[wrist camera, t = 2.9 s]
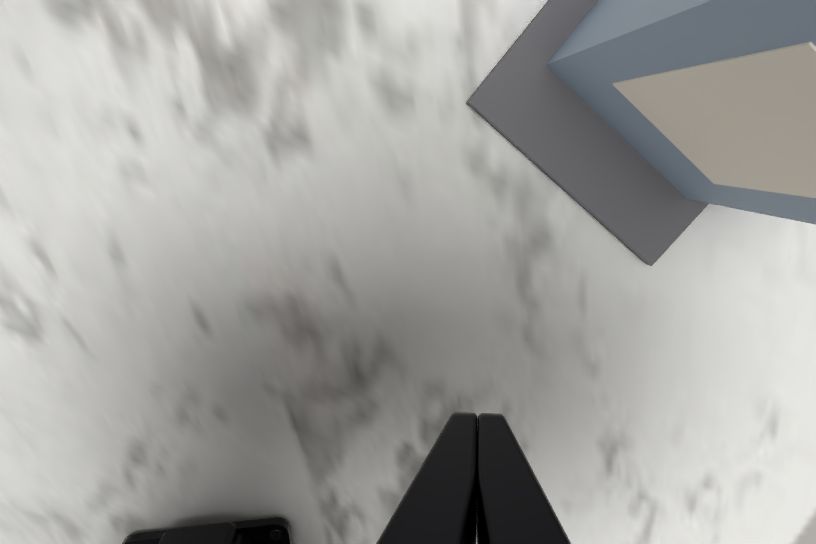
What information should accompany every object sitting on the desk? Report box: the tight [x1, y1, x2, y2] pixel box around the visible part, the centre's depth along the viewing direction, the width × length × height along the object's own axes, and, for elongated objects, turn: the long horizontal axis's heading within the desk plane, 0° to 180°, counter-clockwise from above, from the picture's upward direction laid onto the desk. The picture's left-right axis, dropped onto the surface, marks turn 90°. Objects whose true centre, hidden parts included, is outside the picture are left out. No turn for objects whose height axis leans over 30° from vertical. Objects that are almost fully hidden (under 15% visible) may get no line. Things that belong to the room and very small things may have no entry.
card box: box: [546, 0, 816, 224], centre depth 13 cm, size 3×7×12 cm, turn 51°
